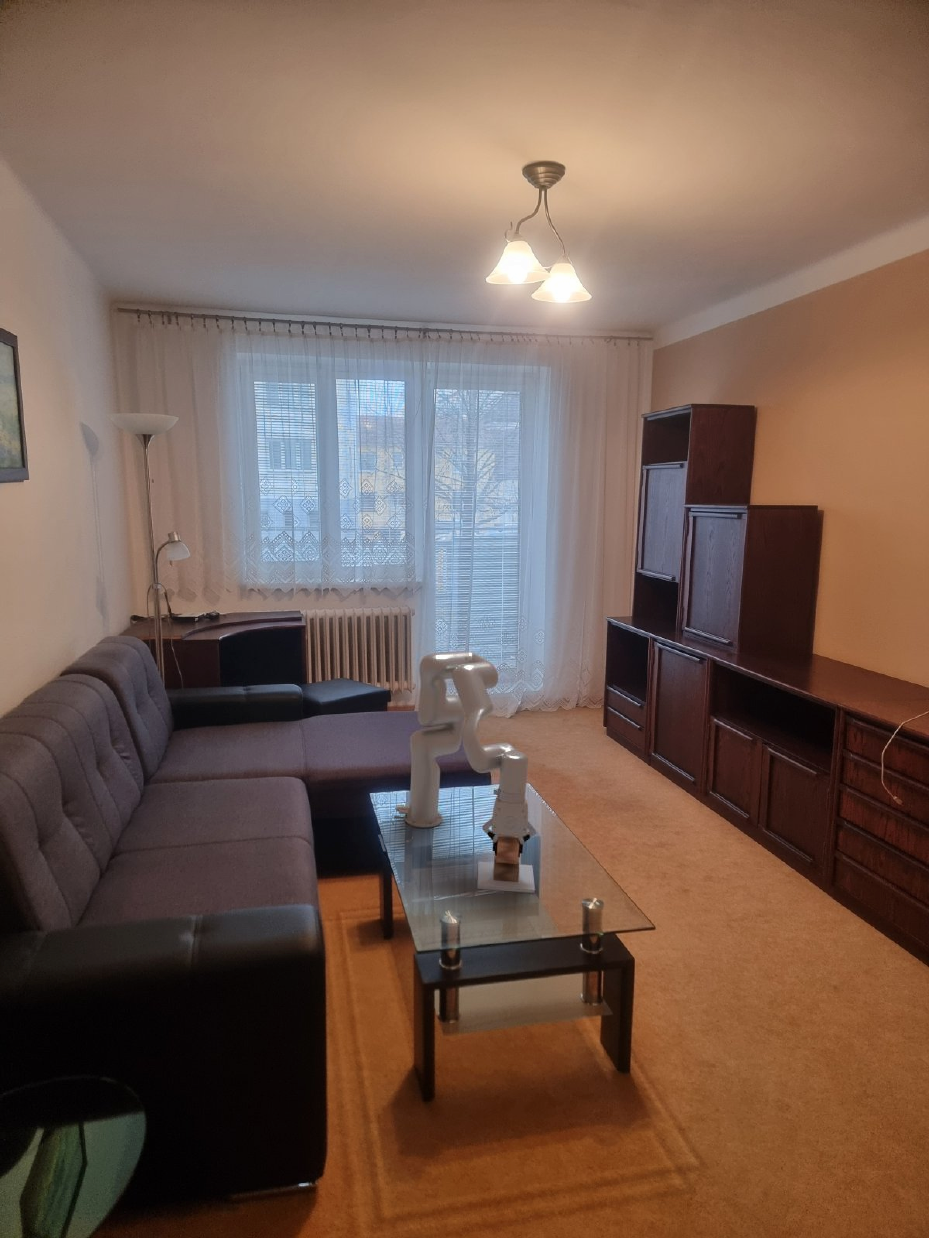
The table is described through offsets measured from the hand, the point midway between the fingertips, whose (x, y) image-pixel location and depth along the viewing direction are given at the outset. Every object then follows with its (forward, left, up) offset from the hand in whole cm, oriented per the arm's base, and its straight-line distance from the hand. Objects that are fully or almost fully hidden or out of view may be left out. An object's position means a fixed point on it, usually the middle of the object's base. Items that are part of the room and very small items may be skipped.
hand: (507, 853), depth 218 cm
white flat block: (0, 0, -8) cm, 8 cm away
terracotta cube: (0, 0, -1) cm, 1 cm away
